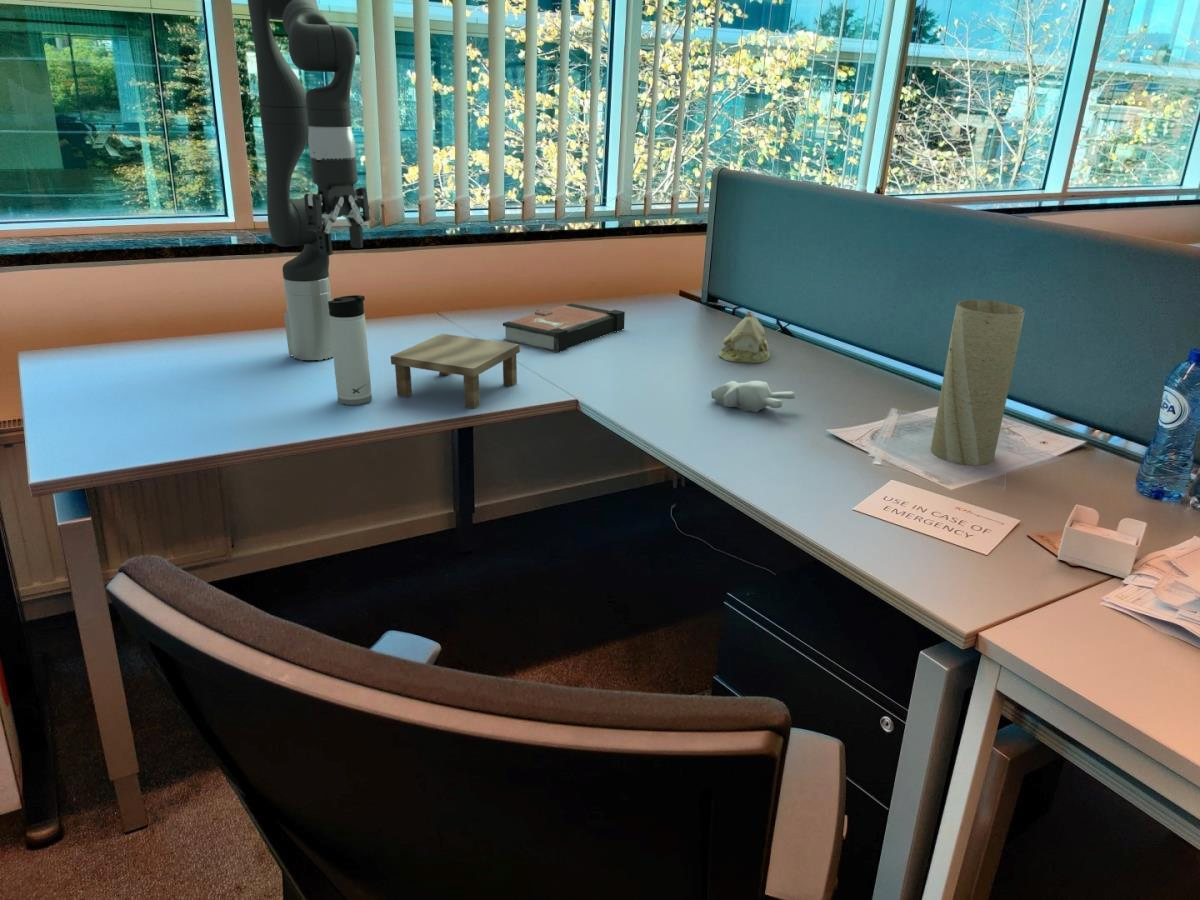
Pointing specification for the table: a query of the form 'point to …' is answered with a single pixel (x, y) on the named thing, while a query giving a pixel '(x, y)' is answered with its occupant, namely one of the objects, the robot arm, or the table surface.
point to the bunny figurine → (749, 395)
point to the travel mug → (350, 349)
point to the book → (563, 326)
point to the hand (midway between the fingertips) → (342, 251)
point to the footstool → (456, 362)
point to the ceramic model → (746, 342)
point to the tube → (976, 380)
